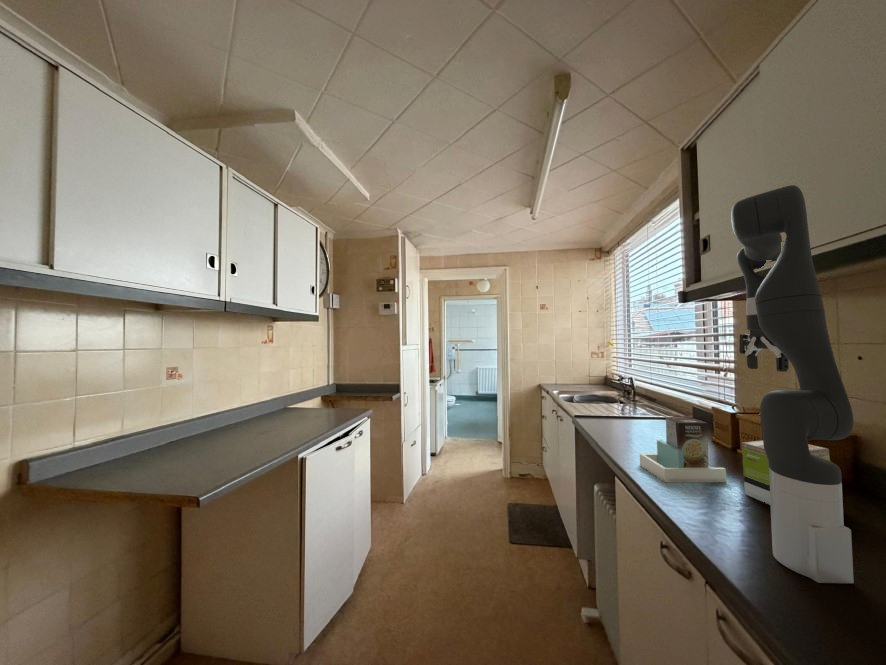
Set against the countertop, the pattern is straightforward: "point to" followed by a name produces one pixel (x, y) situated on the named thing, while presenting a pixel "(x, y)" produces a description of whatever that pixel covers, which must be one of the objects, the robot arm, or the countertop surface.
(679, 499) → the countertop surface
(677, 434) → the coffee box
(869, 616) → the countertop surface
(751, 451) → the tea box
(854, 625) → the countertop surface
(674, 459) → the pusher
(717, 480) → the white rectangular tray
